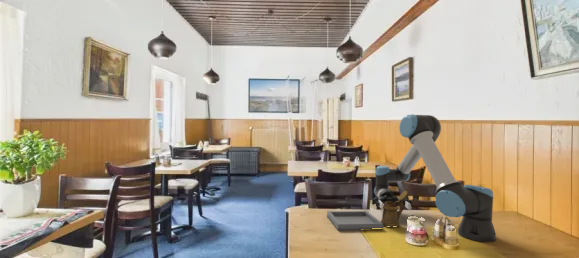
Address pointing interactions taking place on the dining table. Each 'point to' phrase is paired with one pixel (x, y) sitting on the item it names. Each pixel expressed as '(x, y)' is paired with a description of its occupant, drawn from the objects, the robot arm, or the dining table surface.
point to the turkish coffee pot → (393, 211)
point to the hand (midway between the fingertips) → (395, 206)
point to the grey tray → (353, 220)
